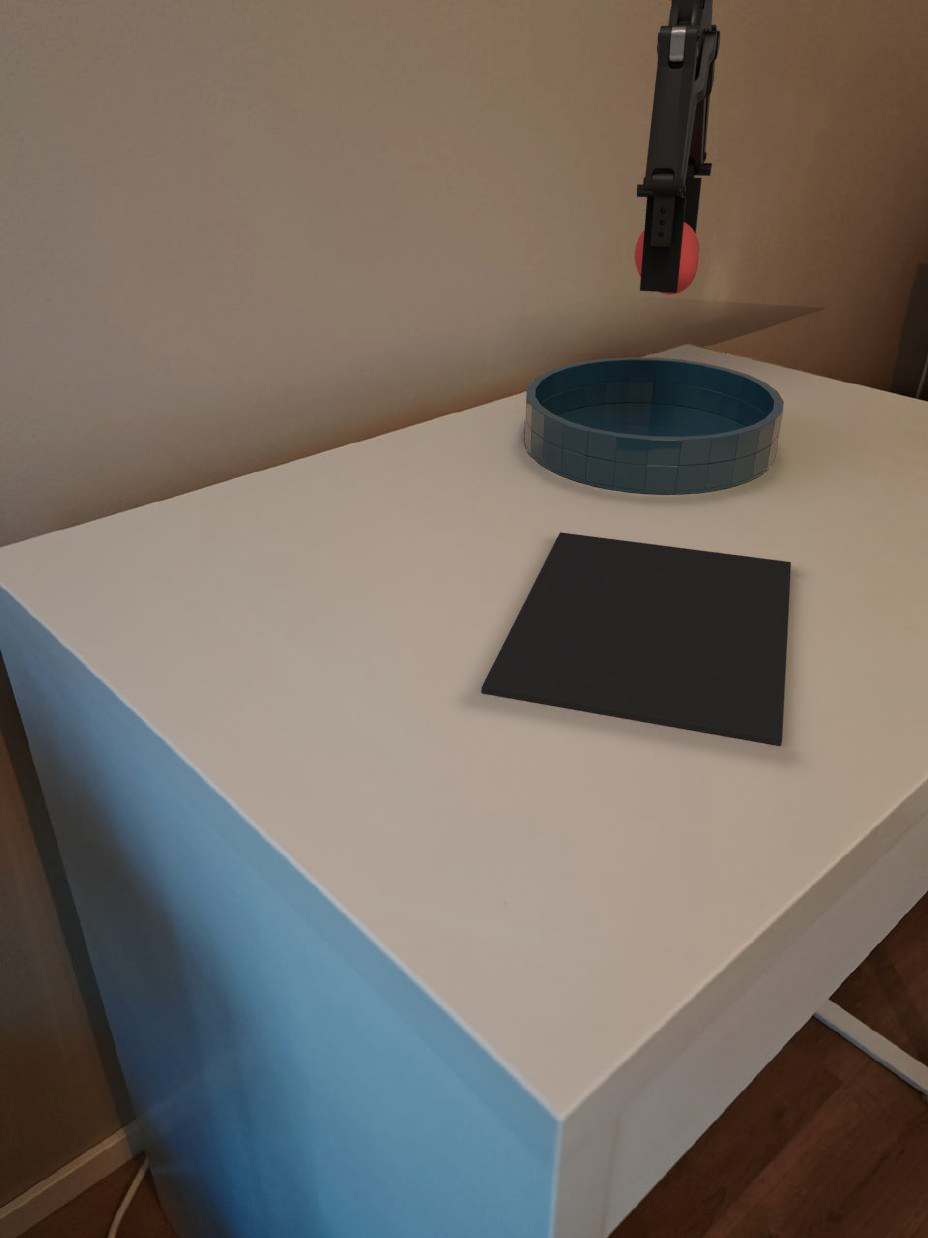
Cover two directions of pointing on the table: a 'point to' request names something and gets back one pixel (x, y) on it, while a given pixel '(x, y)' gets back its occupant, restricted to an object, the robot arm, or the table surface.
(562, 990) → the table surface
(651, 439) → the bowl
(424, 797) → the table surface
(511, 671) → the mat
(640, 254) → the stress ball
